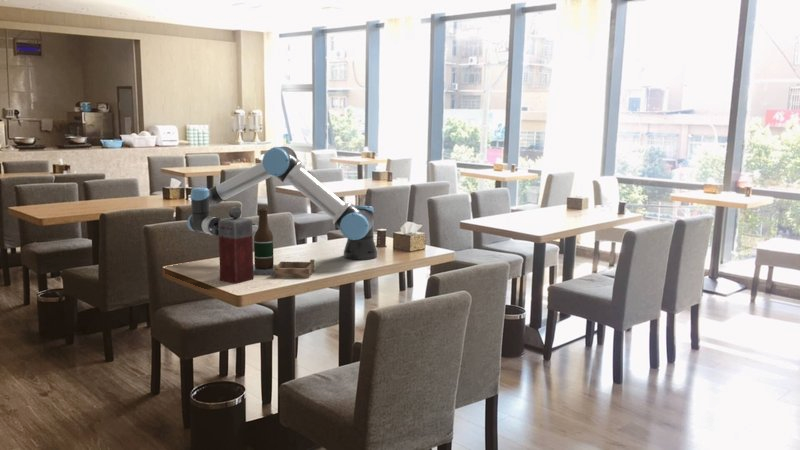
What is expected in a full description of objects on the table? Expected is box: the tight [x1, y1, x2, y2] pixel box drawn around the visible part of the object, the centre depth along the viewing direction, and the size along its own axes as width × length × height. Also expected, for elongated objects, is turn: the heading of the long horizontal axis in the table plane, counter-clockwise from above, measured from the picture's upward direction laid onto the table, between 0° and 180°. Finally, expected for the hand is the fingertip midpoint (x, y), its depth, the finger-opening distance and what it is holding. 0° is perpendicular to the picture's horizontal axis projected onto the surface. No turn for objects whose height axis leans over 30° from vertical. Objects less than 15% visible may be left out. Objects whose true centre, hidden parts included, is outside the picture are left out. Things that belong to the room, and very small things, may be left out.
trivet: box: [253, 263, 275, 276], centre depth 275 cm, size 12×12×2 cm
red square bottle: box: [218, 206, 254, 285], centre depth 258 cm, size 9×11×28 cm
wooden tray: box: [273, 259, 315, 279], centre depth 270 cm, size 14×14×4 cm
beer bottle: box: [253, 207, 274, 269], centre depth 273 cm, size 8×8×24 cm
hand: (248, 231), depth 278 cm, fingers open, 13 cm apart
